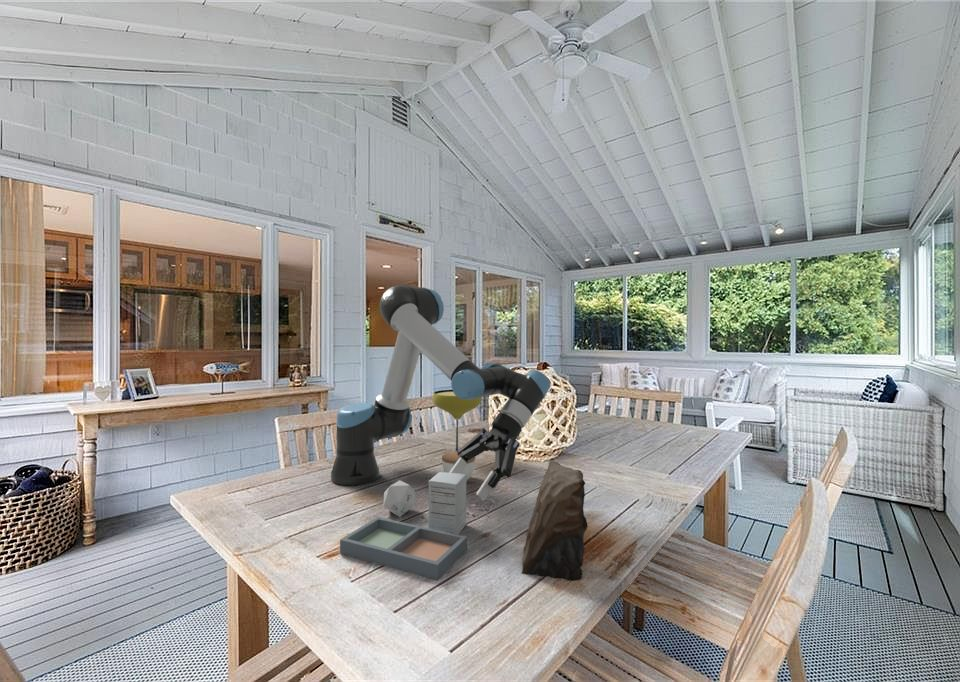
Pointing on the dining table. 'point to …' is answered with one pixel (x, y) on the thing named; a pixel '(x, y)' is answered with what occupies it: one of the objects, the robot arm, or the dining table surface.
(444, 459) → the lidded jar
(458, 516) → the supplement box
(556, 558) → the brown rock
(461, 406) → the cocktail glass
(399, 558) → the sorting tray
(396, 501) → the die
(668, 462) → the dining table surface
